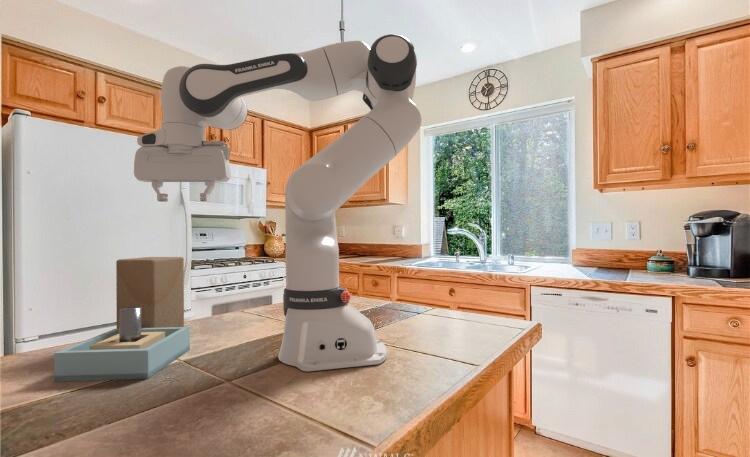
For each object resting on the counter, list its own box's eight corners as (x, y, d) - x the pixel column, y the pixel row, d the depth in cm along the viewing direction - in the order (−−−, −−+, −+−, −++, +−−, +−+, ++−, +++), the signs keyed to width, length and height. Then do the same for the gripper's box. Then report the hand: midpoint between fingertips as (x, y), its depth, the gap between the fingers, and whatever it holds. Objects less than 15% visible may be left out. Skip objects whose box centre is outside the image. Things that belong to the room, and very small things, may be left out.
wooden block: (152, 349, 81) (152, 259, 81) (115, 347, 83) (115, 259, 83) (185, 336, 90) (184, 256, 91) (150, 334, 92) (150, 256, 93)
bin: (189, 349, 80) (189, 326, 80) (148, 378, 64) (148, 350, 64) (115, 351, 79) (114, 328, 79) (54, 381, 63) (54, 353, 63)
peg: (144, 355, 73) (145, 306, 74) (133, 361, 70) (134, 309, 70) (126, 355, 73) (127, 306, 73) (114, 361, 70) (115, 310, 70)
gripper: (234, 144, 86) (234, 202, 86) (146, 144, 85) (146, 202, 85) (224, 137, 80) (225, 199, 80) (129, 137, 79) (129, 200, 79)
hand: (183, 201), depth 82 cm, fingers open, 8 cm apart
